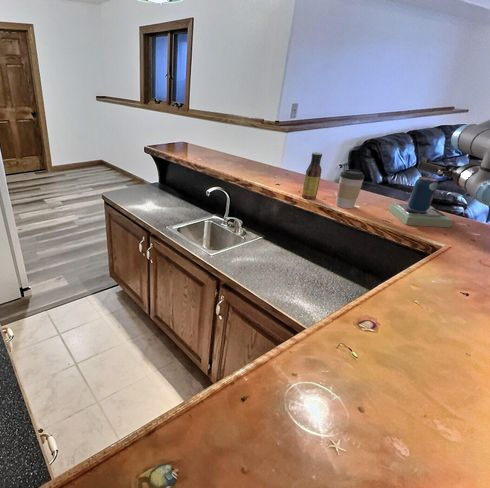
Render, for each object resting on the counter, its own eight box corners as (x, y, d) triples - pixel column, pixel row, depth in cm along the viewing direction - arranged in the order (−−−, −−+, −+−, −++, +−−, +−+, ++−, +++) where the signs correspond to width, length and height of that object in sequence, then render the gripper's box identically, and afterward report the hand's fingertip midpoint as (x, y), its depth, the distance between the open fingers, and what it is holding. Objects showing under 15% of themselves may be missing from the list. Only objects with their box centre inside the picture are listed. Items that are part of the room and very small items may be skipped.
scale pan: (424, 206, 139) (425, 205, 138) (440, 217, 129) (440, 215, 128) (395, 205, 140) (395, 203, 140) (408, 215, 130) (408, 213, 130)
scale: (428, 212, 141) (430, 205, 140) (449, 227, 128) (452, 219, 127) (388, 210, 143) (391, 203, 142) (405, 224, 130) (408, 216, 128)
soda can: (431, 212, 130) (443, 181, 125) (411, 211, 131) (422, 180, 126) (422, 206, 137) (433, 176, 131) (403, 205, 138) (413, 175, 132)
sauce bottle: (306, 194, 160) (314, 150, 151) (318, 198, 156) (328, 153, 147) (298, 197, 156) (306, 152, 148) (311, 201, 152) (320, 155, 143)
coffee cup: (350, 211, 142) (359, 174, 135) (328, 205, 148) (337, 170, 141) (360, 206, 147) (370, 171, 140) (339, 200, 153) (347, 166, 146)
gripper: (419, 187, 104) (400, 170, 122) (522, 196, 97) (486, 176, 115) (427, 162, 100) (407, 148, 119) (535, 169, 93) (496, 153, 112)
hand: (446, 162), depth 117 cm, fingers open, 13 cm apart
